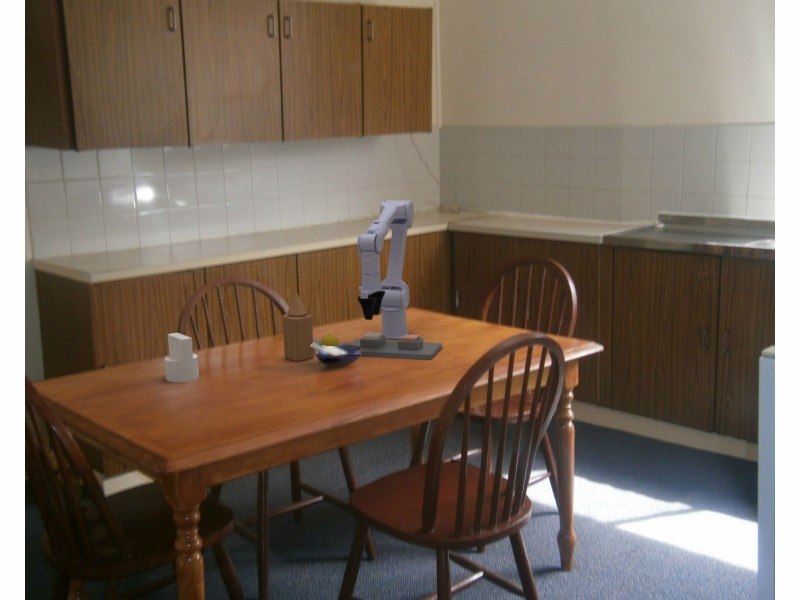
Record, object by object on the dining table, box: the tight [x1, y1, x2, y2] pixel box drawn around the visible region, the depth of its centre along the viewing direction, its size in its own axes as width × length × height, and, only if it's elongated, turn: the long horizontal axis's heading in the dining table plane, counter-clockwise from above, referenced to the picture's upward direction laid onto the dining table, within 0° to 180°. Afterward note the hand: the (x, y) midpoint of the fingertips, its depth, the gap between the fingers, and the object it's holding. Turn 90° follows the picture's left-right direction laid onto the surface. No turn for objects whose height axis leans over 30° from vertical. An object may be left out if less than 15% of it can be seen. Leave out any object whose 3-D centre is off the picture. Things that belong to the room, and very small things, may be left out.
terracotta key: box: [402, 333, 421, 342], centre depth 274 cm, size 4×4×2 cm
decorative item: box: [282, 292, 315, 362], centre depth 270 cm, size 7×7×20 cm
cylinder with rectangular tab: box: [164, 332, 200, 383], centre depth 253 cm, size 9×9×12 cm
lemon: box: [320, 333, 340, 347], centre depth 268 cm, size 6×6×8 cm
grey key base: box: [348, 335, 443, 361], centre depth 276 cm, size 14×28×4 cm, turn 73°
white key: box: [363, 331, 382, 340], centre depth 278 cm, size 4×4×2 cm
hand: (372, 317), depth 276 cm, fingers open, 6 cm apart
